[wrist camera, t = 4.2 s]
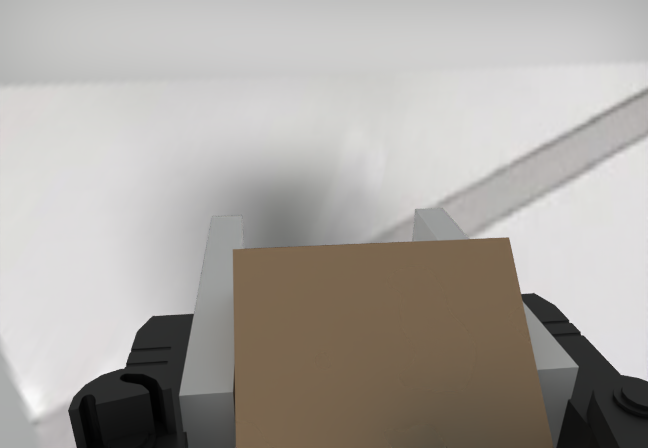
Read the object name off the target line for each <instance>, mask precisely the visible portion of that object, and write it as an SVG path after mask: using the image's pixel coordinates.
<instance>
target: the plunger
mask: <svg viewBox="0 0 648 448" xmlns="http://www.w3.org/2000/svg"><path fill="white" fill-rule="evenodd" d="M233 301H234V362H235V424H236V448H554V447H553V442H552V438H551V433H550V428H549V424H548V419H547V414H546V409H545V405H544V400H543V395H542V391H541V386H540V381H539V376H538V372H537V367H536V362H535V358H534V353H533V348H532V344H531V339H530V334H529V329H528V325H527V320H526V315H525V311H524V306H523V301H522V296H521V292H520V287H519V282H518V278H517V273H516V268H515V263H514V259H513V254H512V249H511V245H510V240H509V238H486V239H462V240H439V241H415V242H392V243H369V244H345V245H322V246H298V247H275V248H251V249H233Z"/></svg>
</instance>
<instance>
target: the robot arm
mask: <svg viewBox="0 0 648 448" xmlns="http://www.w3.org/2000/svg"><path fill="white" fill-rule="evenodd" d="M462 239H469V238H468V237H467V236H466V234H465V233H464V232H463V231H462V230H461V229H460V227H459V226H458V225H457V224H456V223H455V222H454V220H453V219H452V218H451V217H450V216H449V215H448V213H447V212H446V211H445V210H444V209H443V208H434V209H415V218H414V230H413V241H412V242H415V241H439V240H462ZM233 249H244V241H243V223H242V215H238V216H212V218H211V224H210V229H209V235H208V240H207V246H206V251H205V257H204V262H203V267H202V273H201V278H200V284H199V289H198V295H197V300H196V306H195V311H194V314H184V315H166V316H152V317H151V318H150V319H149V320H148V321H147V322H146V323H145V324H144V325H143V326H142V327H141V328H140V329H139V330H138V331H137V333H136V336H135V339H134V342H133V345H132V348H131V353H130V354H129V357H128V360H127V363H126V367H125V369H119V370H116V371H113V372H110V373H107V374H104V375H101V376H99V377H98V378H96V379H94V380H93V381H91V382H89V383H88V384H86V385H85V386H84V387H83V388H82V389H81V390H80V391H79V392H78V393H77V394H76V395H75V396H74V397H73V400H72V402H71V405H70V407H69V410H68V412H69V416H70V420H71V424H72V429H73V433H74V437H75V442H76V446H77V448H236V424H235V362H234V301H233ZM521 296H522V301H523V306H524V311H525V315H526V320H527V325H528V329H529V334H530V339H531V344H532V348H533V353H534V358H535V362H536V367H537V372H538V376H539V381H540V386H541V391H542V395H543V400H544V405H545V409H546V414H547V419H548V424H549V428H550V433H551V438H552V442H553V447H554V448H648V382H647V381H645V380H642V379H640V378H635V377H629V376H624V375H620V373H619V372H618V371H617V370H616V369H615V368H614V367H613V366H612V365H611V364H610V363H609V362H608V361H607V360H606V359H605V358H604V357H603V356H602V354H601V353H600V352H599V351H598V350H597V349H596V348H595V347H594V346H593V345H592V344H591V343H590V342H589V341H588V340H587V339H586V338H585V337H584V335H582V336H581V334H580V333H581V332H580V331H579V330H578V329H577V328H576V327H575V326H574V325H573V324H572V323H569V320H568V319H567V317H566V316H565V315H564V314H563V313H562V312H561V311H560V310H559V309H558V308H557V307H556V306H555V305H553V304H552V303H550V302H548V301H547V300H545V299H543V298H541V297H540V296H538V295H536V294H535V293H532V294H521Z"/></svg>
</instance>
